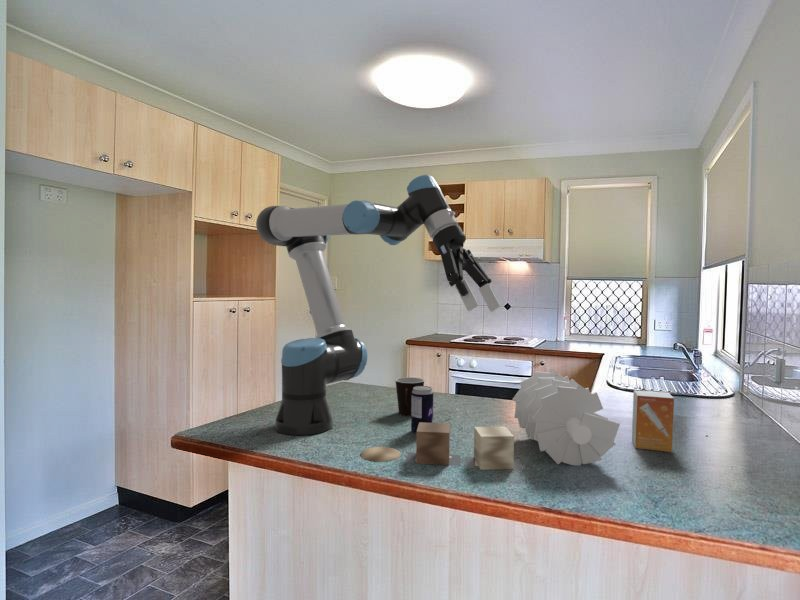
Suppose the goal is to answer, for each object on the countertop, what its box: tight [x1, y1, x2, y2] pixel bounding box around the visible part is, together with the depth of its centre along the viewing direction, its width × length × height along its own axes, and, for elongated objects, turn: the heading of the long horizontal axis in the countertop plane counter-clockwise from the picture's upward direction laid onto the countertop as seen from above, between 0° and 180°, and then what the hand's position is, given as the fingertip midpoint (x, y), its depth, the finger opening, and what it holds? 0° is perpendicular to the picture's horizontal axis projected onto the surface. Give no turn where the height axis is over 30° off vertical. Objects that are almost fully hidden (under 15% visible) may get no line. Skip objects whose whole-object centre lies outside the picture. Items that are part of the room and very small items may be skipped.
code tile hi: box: [464, 456, 524, 472], centre depth 109 cm, size 12×6×1 cm, turn 83°
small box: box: [631, 389, 675, 453], centre depth 122 cm, size 8×6×13 cm
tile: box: [404, 451, 462, 467], centre depth 112 cm, size 12×6×1 cm, turn 83°
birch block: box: [473, 426, 515, 471], centre depth 109 cm, size 7×7×7 cm
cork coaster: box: [360, 446, 402, 463], centre depth 114 cm, size 9×9×1 cm
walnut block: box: [415, 422, 451, 466], centre depth 112 cm, size 7×7×7 cm
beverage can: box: [410, 385, 434, 435], centre depth 131 cm, size 6×6×12 cm
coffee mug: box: [395, 376, 425, 417], centre depth 149 cm, size 12×9×10 cm
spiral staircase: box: [512, 369, 621, 466], centre depth 118 cm, size 18×18×25 cm
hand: (485, 308), depth 117 cm, fingers open, 13 cm apart
